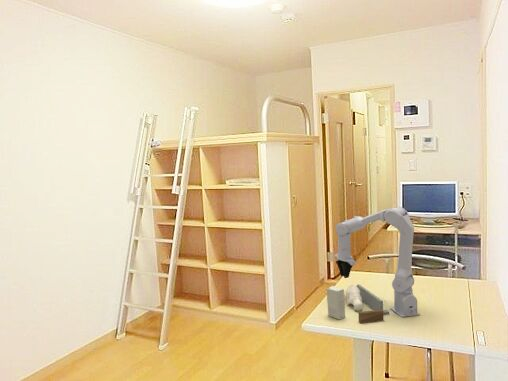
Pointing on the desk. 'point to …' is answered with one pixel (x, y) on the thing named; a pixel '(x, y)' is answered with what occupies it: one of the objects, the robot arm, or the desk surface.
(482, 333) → the desk surface
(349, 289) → the white lumpy rounded piece
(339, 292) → the skincare box
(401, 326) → the desk surface
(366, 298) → the screen
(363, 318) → the stop bar
